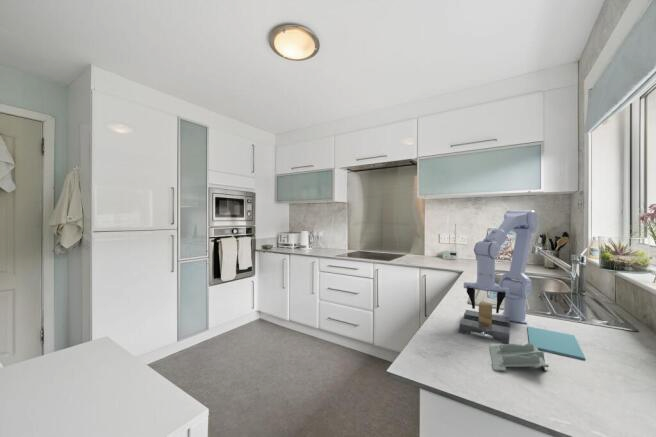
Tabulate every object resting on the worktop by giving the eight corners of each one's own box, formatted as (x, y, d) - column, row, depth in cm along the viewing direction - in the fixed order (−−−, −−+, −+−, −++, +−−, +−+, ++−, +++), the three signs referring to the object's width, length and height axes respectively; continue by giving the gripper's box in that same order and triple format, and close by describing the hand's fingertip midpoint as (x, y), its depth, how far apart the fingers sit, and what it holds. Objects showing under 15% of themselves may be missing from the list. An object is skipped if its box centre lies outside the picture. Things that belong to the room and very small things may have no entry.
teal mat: (527, 327, 101) (527, 326, 101) (574, 336, 94) (574, 335, 94) (529, 347, 87) (529, 345, 87) (585, 360, 79) (585, 358, 79)
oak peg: (479, 324, 104) (479, 301, 104) (491, 327, 102) (492, 303, 102) (478, 328, 101) (478, 304, 101) (491, 331, 99) (491, 306, 98)
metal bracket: (536, 337, 82) (549, 361, 68) (543, 357, 81) (557, 385, 68) (483, 340, 88) (486, 363, 75) (489, 359, 87) (493, 385, 74)
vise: (466, 315, 114) (466, 308, 114) (509, 323, 105) (509, 316, 105) (457, 334, 96) (457, 326, 96) (508, 346, 88) (508, 337, 87)
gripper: (462, 273, 102) (462, 309, 102) (509, 278, 94) (508, 317, 94) (465, 270, 108) (464, 304, 108) (509, 274, 99) (508, 311, 100)
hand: (485, 310), depth 101 cm, fingers open, 7 cm apart
